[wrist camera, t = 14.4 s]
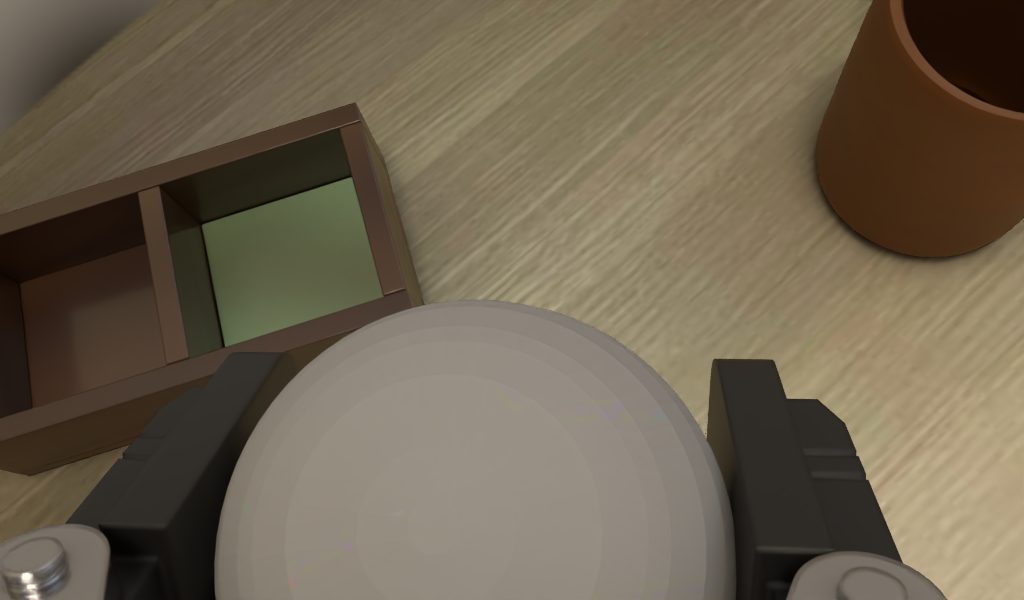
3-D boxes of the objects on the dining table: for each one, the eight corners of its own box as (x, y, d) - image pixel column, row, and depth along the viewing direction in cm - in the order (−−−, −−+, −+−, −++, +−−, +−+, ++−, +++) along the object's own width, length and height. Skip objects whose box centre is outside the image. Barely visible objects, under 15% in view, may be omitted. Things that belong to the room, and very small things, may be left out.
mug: (794, -15, 36) (855, -223, 27) (995, -24, 35) (1126, -240, 26) (818, 266, 32) (897, 132, 23) (1045, 264, 31) (1219, 125, 22)
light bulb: (325, 592, 17) (-26, 564, 7) (514, 374, 18) (416, 109, 8) (546, 811, 15) (458, 1127, 6) (739, 559, 16) (925, 484, 7)
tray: (436, 346, 32) (412, 311, 28) (28, 476, 32) (-51, 458, 28) (383, 157, 35) (355, 101, 31) (7, 276, 35) (-67, 235, 31)
